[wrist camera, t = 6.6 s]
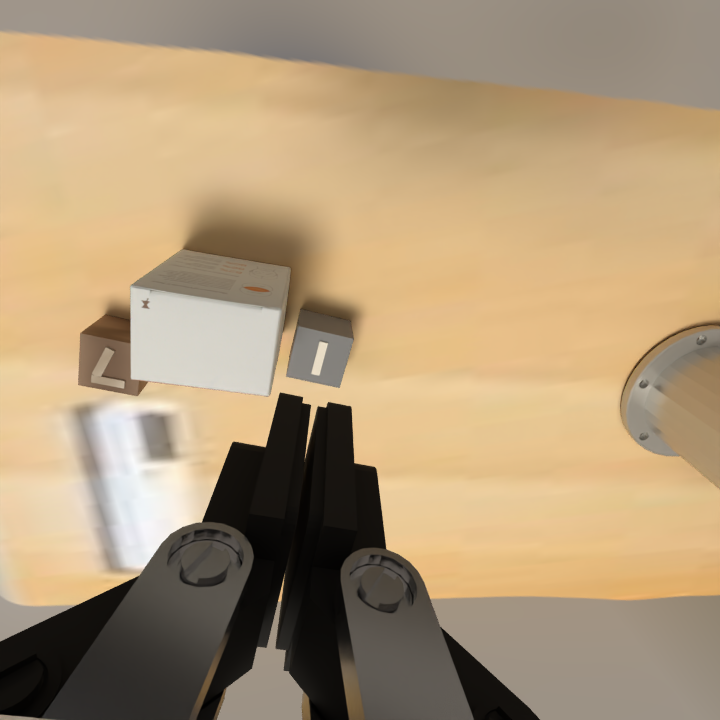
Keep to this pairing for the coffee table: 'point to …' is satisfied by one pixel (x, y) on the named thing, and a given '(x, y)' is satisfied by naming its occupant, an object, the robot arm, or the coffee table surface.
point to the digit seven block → (108, 357)
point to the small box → (209, 323)
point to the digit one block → (320, 348)
